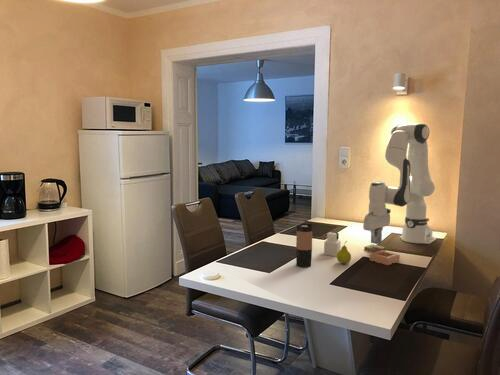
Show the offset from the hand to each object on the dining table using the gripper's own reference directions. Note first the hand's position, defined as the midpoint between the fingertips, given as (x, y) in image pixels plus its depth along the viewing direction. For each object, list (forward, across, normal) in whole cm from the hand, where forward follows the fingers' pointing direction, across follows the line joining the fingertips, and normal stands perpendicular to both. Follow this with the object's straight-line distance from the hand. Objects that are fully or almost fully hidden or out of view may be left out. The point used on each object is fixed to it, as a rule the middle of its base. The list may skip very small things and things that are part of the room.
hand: (376, 235), depth 223 cm
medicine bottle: (+8, -24, +11) cm, 28 cm away
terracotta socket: (+8, -13, -14) cm, 20 cm away
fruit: (+8, -33, -3) cm, 34 cm away
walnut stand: (+8, -1, 0) cm, 8 cm away
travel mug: (+8, -50, +7) cm, 52 cm away
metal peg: (+4, 0, 0) cm, 4 cm away
